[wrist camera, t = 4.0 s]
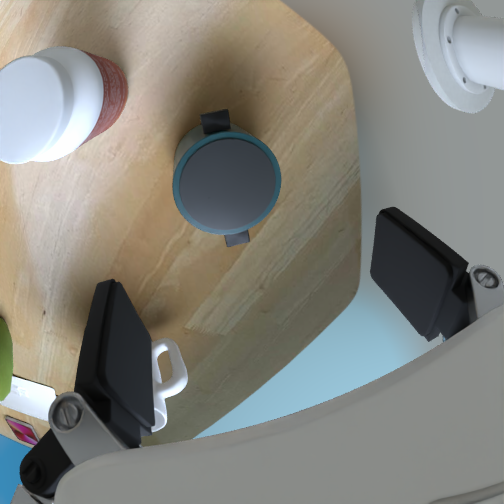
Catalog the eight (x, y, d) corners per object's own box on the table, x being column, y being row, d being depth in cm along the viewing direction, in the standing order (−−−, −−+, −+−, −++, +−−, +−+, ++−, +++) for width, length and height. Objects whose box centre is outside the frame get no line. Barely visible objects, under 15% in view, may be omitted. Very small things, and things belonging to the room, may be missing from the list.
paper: (-3, 404, 32) (-4, 408, 31) (-31, 356, 24) (-33, 361, 24) (104, 433, 41) (104, 438, 41) (99, 395, 34) (99, 401, 33)
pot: (248, 99, 19) (273, 103, 14) (263, 203, 24) (287, 237, 19) (162, 117, 19) (155, 126, 14) (188, 221, 24) (192, 261, 19)
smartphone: (31, 427, 36) (42, 447, 42) (32, 424, 37) (42, 444, 43) (3, 417, 33) (18, 439, 39) (4, 414, 34) (18, 436, 40)
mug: (162, 298, 27) (164, 383, 19) (197, 345, 32) (209, 419, 24) (79, 330, 27) (65, 405, 19) (120, 369, 32) (118, 437, 24)
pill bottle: (116, 44, 14) (60, 8, 5) (141, 113, 18) (103, 136, 9) (46, 83, 14) (-43, 95, 5) (71, 149, 18) (-2, 204, 9)
